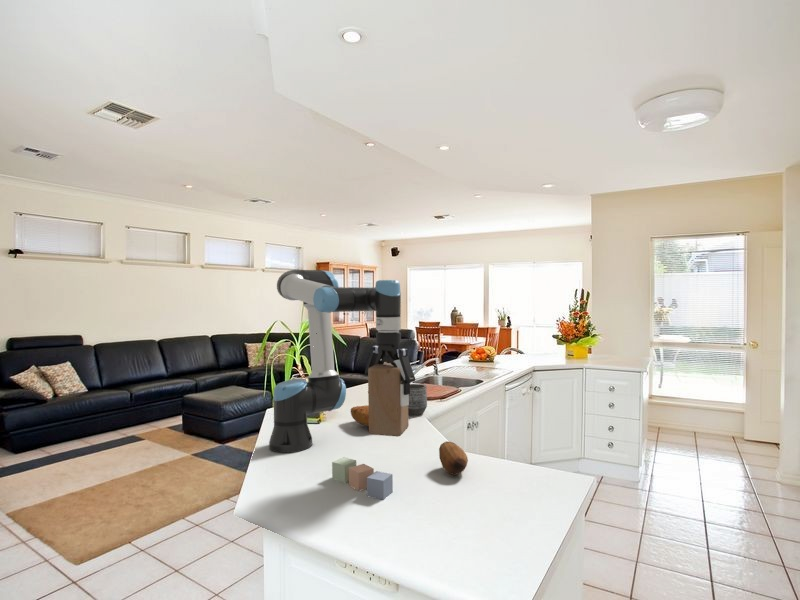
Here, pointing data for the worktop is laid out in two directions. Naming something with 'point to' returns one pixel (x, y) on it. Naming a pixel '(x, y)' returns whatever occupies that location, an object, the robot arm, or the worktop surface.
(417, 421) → the worktop surface
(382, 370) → the wooden block
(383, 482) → the slate cube
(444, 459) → the potato
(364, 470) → the terracotta cube
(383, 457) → the worktop surface
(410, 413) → the planter
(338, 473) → the sage cube
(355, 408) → the bread loaf
